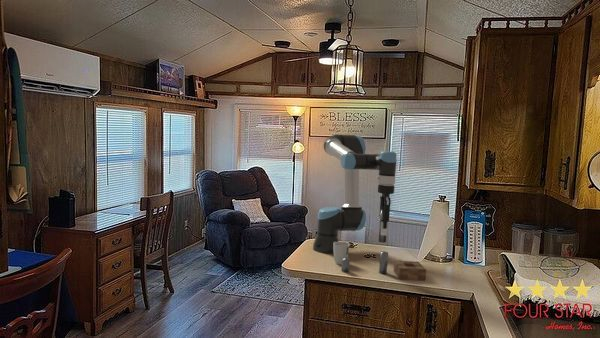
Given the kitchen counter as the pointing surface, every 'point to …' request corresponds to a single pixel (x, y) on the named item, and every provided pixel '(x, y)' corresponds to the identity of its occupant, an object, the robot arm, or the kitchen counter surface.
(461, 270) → the kitchen counter surface
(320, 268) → the kitchen counter surface
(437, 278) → the kitchen counter surface
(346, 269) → the pin short
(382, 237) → the pin long
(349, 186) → the robot arm
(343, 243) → the cup
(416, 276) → the hole block
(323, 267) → the kitchen counter surface
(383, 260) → the pin medium
